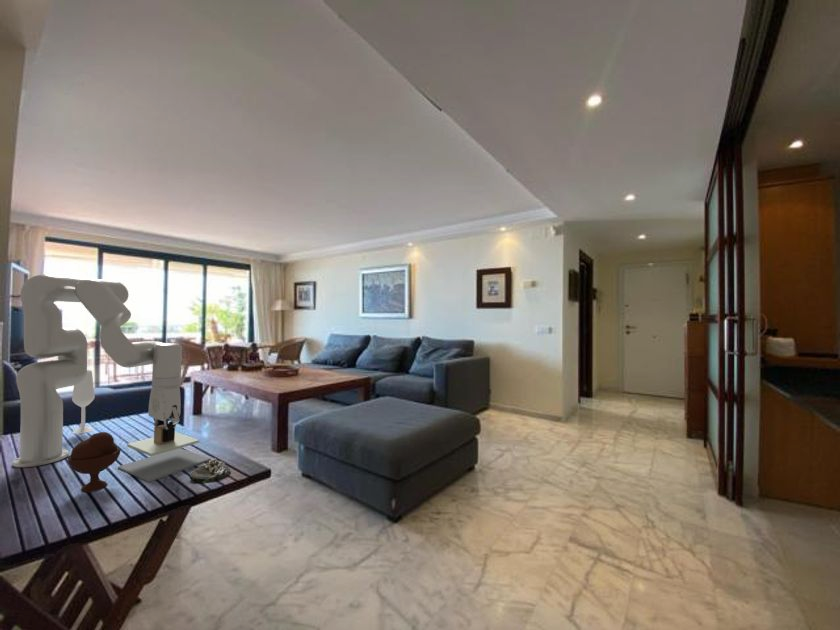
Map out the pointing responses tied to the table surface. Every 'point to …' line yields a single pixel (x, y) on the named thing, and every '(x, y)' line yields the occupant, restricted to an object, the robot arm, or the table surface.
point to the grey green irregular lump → (210, 472)
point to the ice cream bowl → (94, 458)
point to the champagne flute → (84, 399)
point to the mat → (163, 464)
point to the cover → (161, 443)
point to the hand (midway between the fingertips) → (164, 438)
